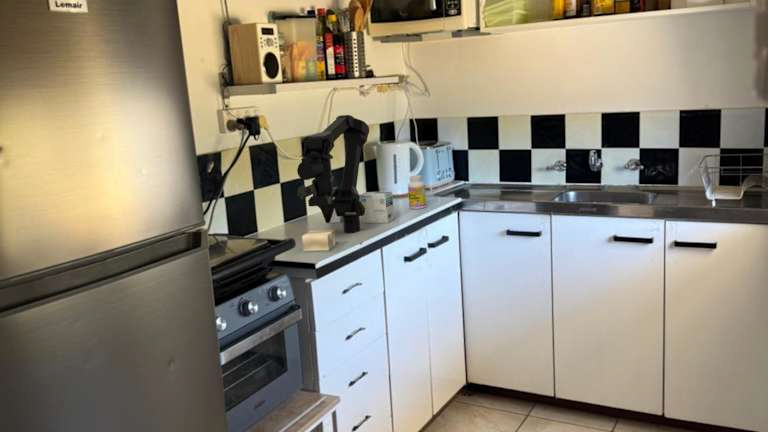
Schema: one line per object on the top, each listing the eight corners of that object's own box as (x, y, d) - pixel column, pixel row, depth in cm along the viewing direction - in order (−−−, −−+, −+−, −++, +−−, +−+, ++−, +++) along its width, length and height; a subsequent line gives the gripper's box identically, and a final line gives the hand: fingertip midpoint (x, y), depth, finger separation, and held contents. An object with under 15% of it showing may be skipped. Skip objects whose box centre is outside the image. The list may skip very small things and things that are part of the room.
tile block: (309, 230, 225) (302, 236, 217) (334, 229, 223) (327, 235, 216) (311, 246, 226) (303, 252, 218) (335, 245, 224) (329, 251, 217)
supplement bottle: (406, 209, 285) (404, 177, 282) (413, 206, 290) (411, 175, 288) (421, 209, 281) (419, 177, 279) (428, 206, 287) (426, 174, 285)
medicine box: (340, 222, 268) (338, 199, 266) (328, 223, 269) (326, 200, 267) (345, 218, 276) (343, 196, 274) (334, 219, 276) (331, 197, 275)
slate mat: (308, 245, 232) (307, 242, 232) (349, 243, 230) (349, 240, 230) (292, 256, 217) (292, 254, 217) (337, 255, 214) (336, 252, 214)
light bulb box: (395, 219, 265) (392, 190, 263) (387, 223, 259) (385, 193, 257) (369, 219, 269) (366, 191, 267) (361, 223, 263) (358, 194, 261)
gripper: (307, 172, 239) (312, 218, 242) (289, 181, 221) (295, 230, 224) (339, 170, 237) (344, 216, 239) (324, 178, 219) (329, 228, 222)
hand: (328, 222), depth 231 cm, fingers closed
